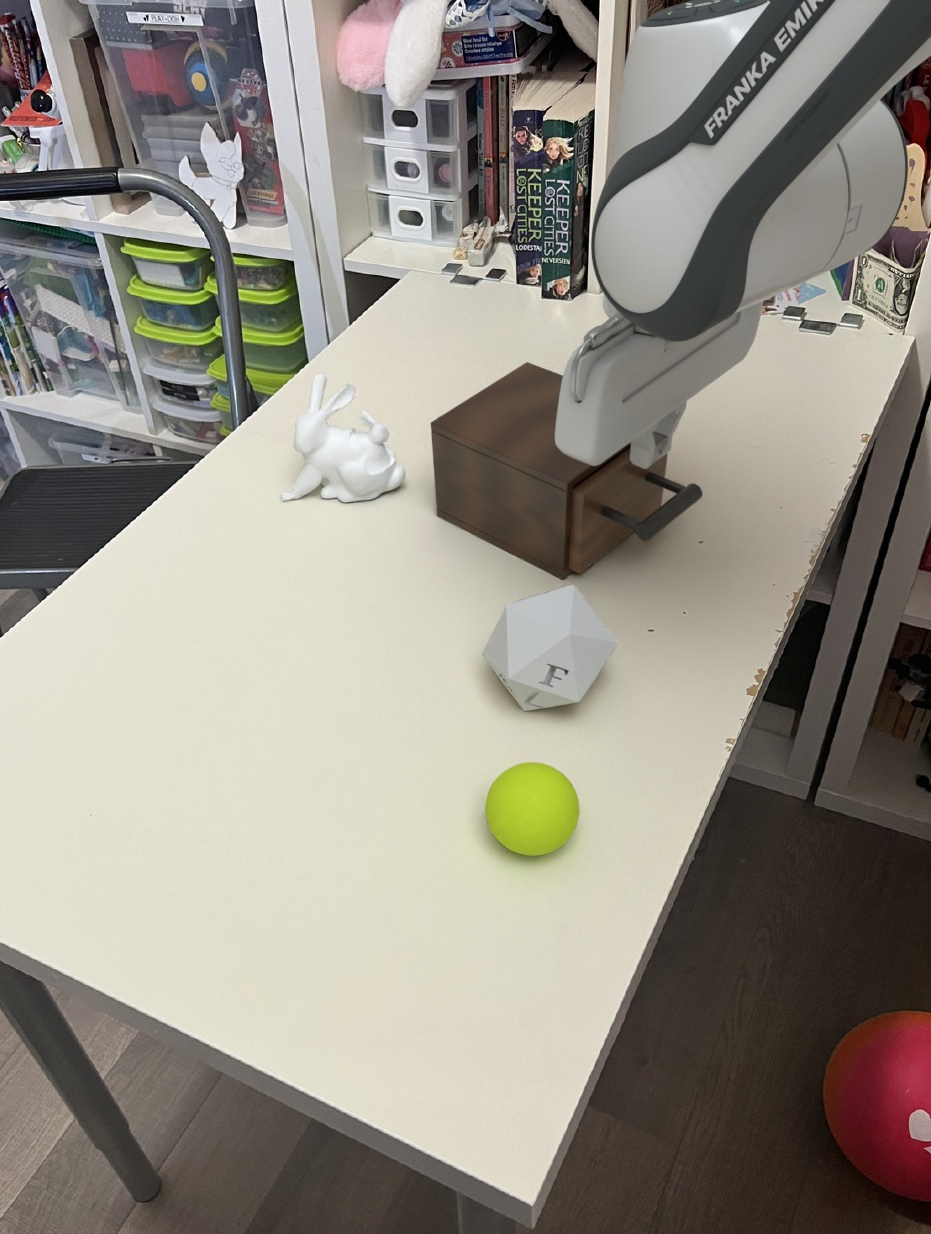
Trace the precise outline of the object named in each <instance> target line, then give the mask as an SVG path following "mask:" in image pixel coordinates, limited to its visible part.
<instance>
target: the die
mask: <svg viewBox="0 0 931 1234" xmlns="http://www.w3.org/2000/svg"><path fill="white" fill-rule="evenodd" d="M618 645H619V641H617V639H616V638H615V637H614V635H613V634H612V633H611V631H610V630H609V628H608V627H607V626H606V625H605V624H604V622H603V621H602V620H601V618H600V617H599V615H598V614H597V613H596V611H595V610H594V609H593V607H592V606H591V604H589V602H588V601H587V599H586V598H585V596H584V595H583V593H581V591H580V590H579V589H578V587H577V586H576V584H570V585H567V586H562V587H559V588H555V589H552V590H549V591H545V592H541V593H538V594H534V595H531V596H527V597H524V598H523V597H522V598H520V599H518V600H515V601H513V602H511V603H508V604H506V605H505V607H504V609H503V611H502V613H501V615H500V618H499V619H498V621H497V622H496V624H495V627H494V629H493V630H492V633H491V635H490V636H489V639H488V641H487V643H486V645H485V646H484V649H483V651H482V653H481V657H483V658H484V660H485V662H487V664H488V665H489V666H490V668H491V669H492V671H493V672H494V673H495V675H496V676H497V677H498V678H499V680H500V682H502V684H503V686H504V687H505V688H506V689H507V690H508V692H509V693H510V695H511V697H512V698H513V699H514V700H515V701H516V702H517V704H518V705H519V706H520V708H521V709H522V710H523V711H524V712H528V711H534V710H539V709H545V708H552V707H559V706H565V705H571V704H577V703H580V702H581V701H582V699H583V698H584V697H585V695H586V694H587V693H588V691H589V690H590V689H591V687H592V685H593V684H594V682H595V681H596V679H597V677H599V674H600V673H601V671H602V670H603V668H604V667H605V665H606V663H607V662H608V660H609V659H610V657H611V656H612V654H613V653H614V651H615V650H616V648H617V647H618Z"/></svg>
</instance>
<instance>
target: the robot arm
mask: <svg viewBox="0 0 931 1234" xmlns="http://www.w3.org/2000/svg"><path fill="white" fill-rule="evenodd" d="M930 57H931V0H689V1H685V2H681V3H679V4H678V3H677V4H675V5H671V6H668V7H665V8H662V9H660V10H658V11H656V12H654V13H652V14H650V15H649V16H648V17H647V18H646V19H645V20H644V21H643V22H641V24H640V25H638V28H637V29H636V31H635V33H634V35H633V37H632V40H631V43H630V46H629V49H628V52H627V54H626V59H625V63H624V67H623V72H622V77H621V82H620V88H619V96H618V103H617V109H616V118H615V129H614V131H615V132H614V138H613V139H614V140H613V152H612V153H613V154H612V168H611V170H610V171H609V173H608V175H607V178H606V179H605V182H604V184H603V187H602V190H601V193H600V195H599V197H598V198H599V199H598V201H597V205H596V208H595V213H594V217H593V223H592V229H591V240H590V242H591V243H590V245H591V246H590V250H591V253H590V254H591V261H592V267H593V271H594V275H595V278H596V280H597V283H598V285H599V287H600V290H601V291H602V293H603V294H602V296H603V297H602V309H603V311H604V313H605V315H606V316H607V317H608V319H607V320H606V321H605V322H604V323H602V324H600V325H596V326H594V327H592V328H591V329H590V330H589V331H588V332H586V334H585V335H584V337H583V343H582V344H581V345H579V347H576V349H575V350H574V351H573V352H572V353H571V355H570V356H569V358H568V360H567V362H566V365H565V368H564V370H563V374H562V375H563V378H562V383H561V389H560V395H559V402H558V409H557V417H556V426H555V444H556V446H557V447H558V448H559V450H560V451H561V452H562V453H564V454H565V455H567V456H569V457H572V458H574V459H576V460H578V461H581V462H583V463H586V464H588V465H592V466H597V465H600V464H601V463H603V462H604V461H606V460H607V459H608V458H610V457H611V456H612V455H614V454H615V453H616V452H618V451H619V450H621V449H622V448H623V447H625V446H626V445H627V444H629V443H631V449H630V461H631V462H632V464H634V465H636V466H639V467H641V468H643V469H647V468H649V467H650V466H651V465H652V464H653V463H655V462H656V461H657V460H659V459H660V458H661V457H663V456H664V455H666V454H667V453H668V454H669V453H670V451H671V450H672V443H673V436H674V434H675V433H676V430H677V427H678V426H679V423H680V421H681V420H682V417H683V415H684V413H685V411H686V408H687V402H688V401H689V400H690V399H692V398H693V397H695V396H696V395H697V394H699V393H700V392H702V391H703V390H704V389H705V388H707V387H708V386H710V385H711V384H712V383H714V382H715V381H716V380H718V379H719V378H721V377H722V376H723V375H724V374H726V373H727V372H729V371H730V370H731V369H732V368H733V369H734V367H736V366H737V365H739V364H740V363H742V362H743V361H744V360H745V358H746V357H747V356H748V354H749V352H750V350H751V348H752V346H753V344H754V342H755V339H756V337H757V332H758V330H759V329H758V328H759V325H760V320H761V317H762V312H763V306H764V303H765V302H764V301H766V300H768V299H771V298H773V297H775V296H778V295H780V294H782V293H785V292H786V291H787V292H788V291H789V290H791V289H793V288H795V287H798V286H800V285H802V284H805V283H807V282H808V281H810V280H812V279H815V278H817V277H819V276H822V275H824V274H825V273H828V272H830V271H833V270H834V269H837V268H840V267H841V266H844V265H845V264H847V263H849V262H851V261H853V260H854V259H856V258H857V257H859V256H861V255H863V254H865V253H868V252H869V251H870V250H872V249H874V248H875V247H876V246H877V245H878V244H879V243H880V242H881V241H882V240H883V239H884V238H885V237H886V236H887V234H888V233H889V231H890V230H891V228H892V227H893V225H894V223H895V221H896V220H897V217H898V215H899V212H900V210H901V207H902V205H903V202H904V198H905V194H906V190H907V186H908V185H907V184H908V177H909V156H908V146H907V143H906V138H905V135H904V132H903V128H902V126H901V124H900V122H899V120H898V119H897V117H896V115H895V113H894V112H893V110H892V109H891V108H890V106H889V105H888V104H887V103H886V102H885V101H884V100H883V97H884V96H885V95H887V94H888V93H889V91H890V90H891V89H892V88H893V87H894V86H896V85H897V84H898V83H899V82H900V81H901V80H902V79H903V78H905V77H906V76H907V75H908V74H909V73H910V72H911V71H913V70H914V69H916V68H917V67H918V66H919V65H920V64H922V63H923V62H924V61H926V60H927V59H928V58H930Z"/></svg>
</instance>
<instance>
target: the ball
mask: <svg viewBox="0 0 931 1234" xmlns="http://www.w3.org/2000/svg"><path fill="white" fill-rule="evenodd" d="M485 818H486V821H487V825H488V827H489V830H490V831H491V833H492V834H493V837H495V839H496V840H497V841H498V842H499V843H500V844H501V845H502V846H504V847H505V848H507V849H508V850H510V851H512V852H514V853H516V854H519V855H523V856H532V857H534V856H542V855H543V856H544V855H546V854H550V853H552V852H554V851H557V850H558V849H559V848H561V847H563V845H565V844H566V843H567V842H568V841H569V839H570V838H571V837H572V835H573V834H574V832H575V830H576V828H577V825H578V822H579V818H580V801H579V797H578V793H577V791H576V789H575V787H574V785H573V784H572V782H571V781H570V780H569V778H568V777H567V776H566V775H565V774H564V773H563V772H561V771H560V770H559V769H557V768H555V767H554V766H551V765H549V764H545V763H542V762H530V761H529V762H522V763H518V764H515V765H513V766H511V767H509V768H507V769H506V770H504V771H502V773H500V774H499V775H498V776H497V777H496V778H495V780H494V781H493V782H492V784H491V786H490V788H489V789H488V793H487V795H486V800H485Z"/></svg>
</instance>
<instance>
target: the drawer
mask: <svg viewBox="0 0 931 1234" xmlns="http://www.w3.org/2000/svg"><path fill="white" fill-rule="evenodd" d="M630 449H631V445H630V446H628V447H627V448H625V449H624V450H623V451H621V452H620V453H619V454H617V455H616V456H615V457H613V458H612V459H610V460H609V461H608V462H606V463H605V464H604V465H602V466H601V467H600V468H598V469H597V470H595V471H594V472H593V473H591V474H590V475H589V476H587V477H586V478H584V479H583V480H582V481H580V482H579V483H578V484H576V485H575V486H574V487H572V488H573V490H572V503H571V526H570V548H569V569H571V570H573V571H574V572H575V573H577V574H579V575H580V574H581V573H582V572H584V571H586V569H588V568H589V567H590V566H591V565H593V564H594V563H595V562H596V561H598V560H599V559H601V557H602V556H604V555H605V554H607V553H608V552H609V551H610V550H612V549H613V548H614V547H615V546H617V545H618V544H619V543H621V542H622V541H623V540H625V539H626V538H627V537H628V536H629V535H630V534H632V533H633V532H634V531H635V534H636V536H637V537H638V538H639V540H641V541H644V542H648V541H650V540H652V539H653V538H654V537H655V536H657V535H658V534H659V533H660V532H661V531H663V530H664V529H665V528H666V527H668V526H669V525H670V524H672V523H673V522H674V521H675V520H677V519H678V518H679V517H680V516H682V514H683V513H685V512H687V510H689V509H690V508H691V507H692V506H693V505H695V504H696V503H697V502H698V501H700V500H701V499H702V498H703V490H702V488H701V487H700V485H699V484H697V483H689V484H688V485H684V484H681V483H679V482H676V481H674V480H671V479H669V478H668V477H667V478H666V471H667V462H668V454H669V452H668V453H667V454H666V455H664V456H663V457H661V458H660V459H659V460H657V461H656V462H655V463H653V464H652V465H651V466H650V467H649V468H647V469H643V468H641V467H639V466H636V465H634V464H632V462H631V461H630ZM664 489H665V490H667V491H669V492H672V493H675V495H673V496H672V497H671V498H670V499H668V500H667V501H666V502H665V503H663V496H664Z"/></svg>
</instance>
